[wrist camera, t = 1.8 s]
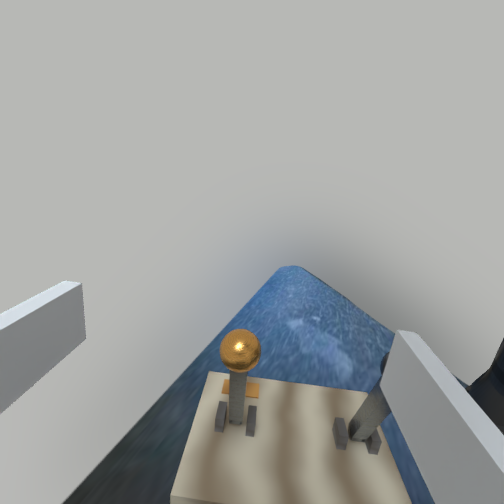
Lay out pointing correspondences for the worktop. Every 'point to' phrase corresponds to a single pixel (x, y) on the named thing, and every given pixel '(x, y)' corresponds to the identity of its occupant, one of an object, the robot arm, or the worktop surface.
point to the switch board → (284, 449)
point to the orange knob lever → (239, 367)
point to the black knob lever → (370, 411)
